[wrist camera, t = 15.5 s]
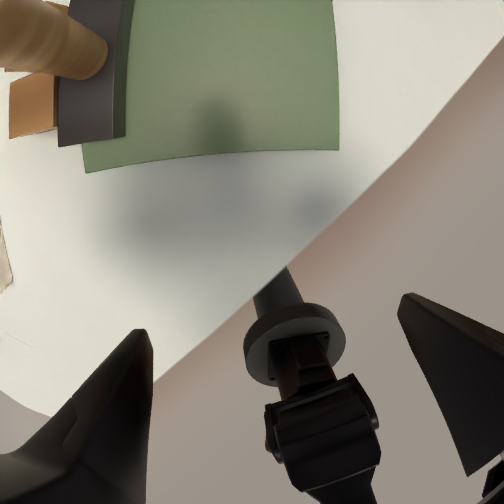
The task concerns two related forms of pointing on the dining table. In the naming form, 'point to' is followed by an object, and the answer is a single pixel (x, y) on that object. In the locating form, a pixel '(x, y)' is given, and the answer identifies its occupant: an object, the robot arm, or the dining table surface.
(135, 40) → the green square board
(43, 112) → the light brown wooden cube
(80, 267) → the dining table surface
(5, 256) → the bracket
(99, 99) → the wooden post on base
